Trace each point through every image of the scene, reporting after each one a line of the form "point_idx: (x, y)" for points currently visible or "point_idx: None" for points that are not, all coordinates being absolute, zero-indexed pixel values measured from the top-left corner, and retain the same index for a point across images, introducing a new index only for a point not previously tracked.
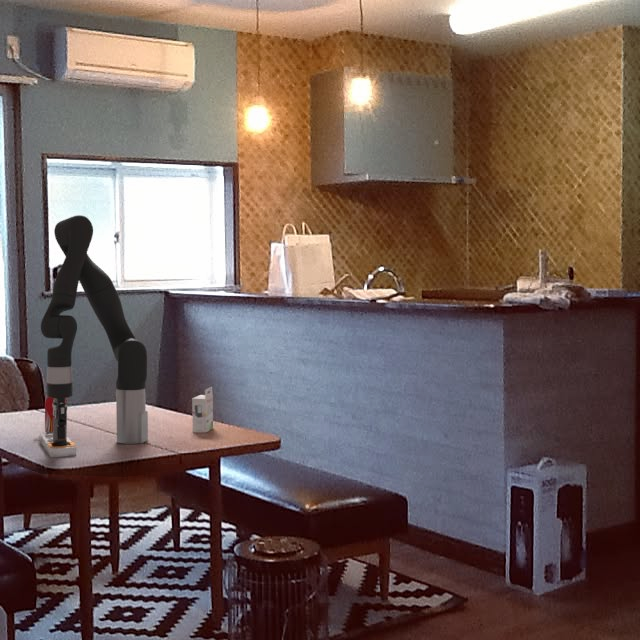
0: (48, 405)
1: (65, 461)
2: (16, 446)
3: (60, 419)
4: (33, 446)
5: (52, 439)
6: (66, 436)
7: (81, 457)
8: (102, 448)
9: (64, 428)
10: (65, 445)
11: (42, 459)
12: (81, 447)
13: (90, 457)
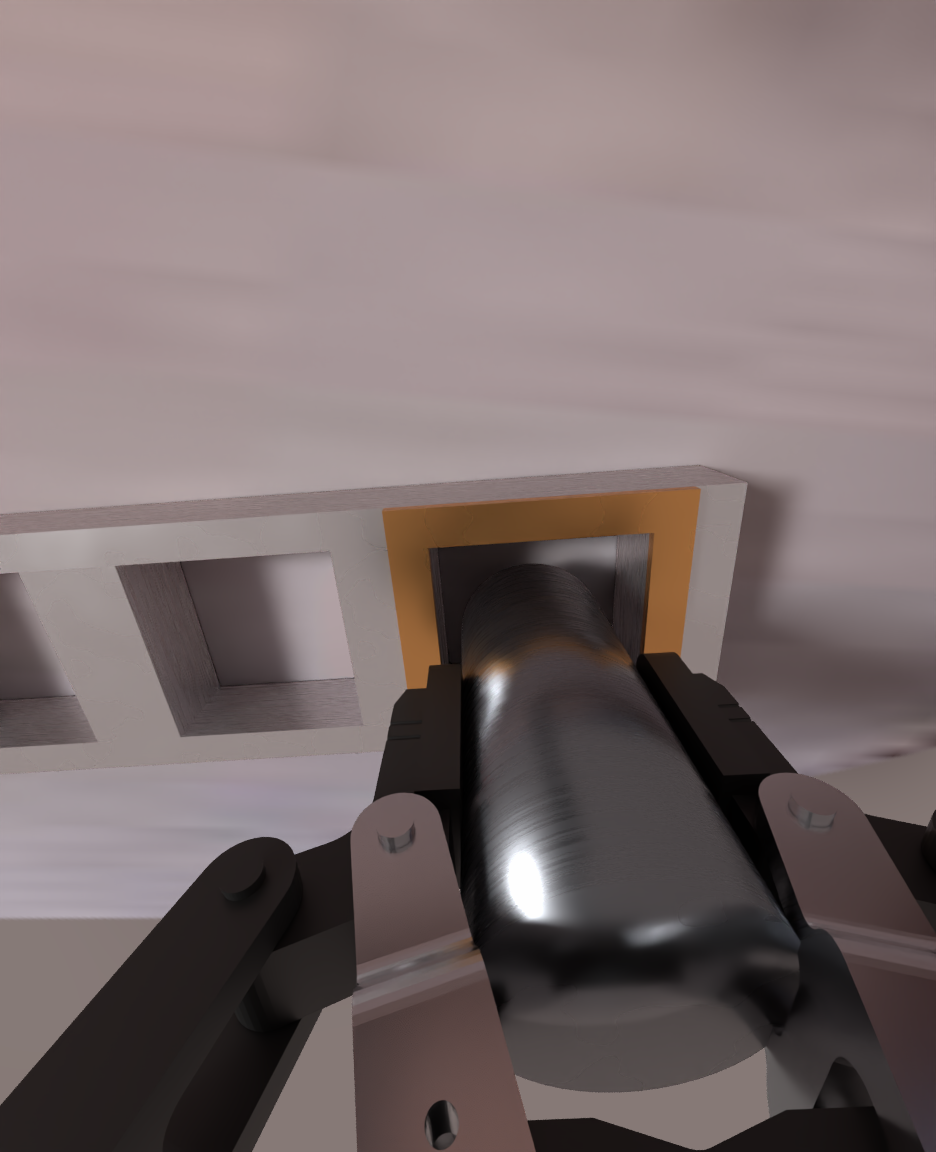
0: None
1: (916, 579)
2: (150, 867)
3: (792, 996)
4: (156, 775)
5: (165, 692)
6: (585, 628)
7: (821, 418)
8: (362, 61)
9: (750, 753)
10: (586, 592)
11: None
12: (249, 368)
13: (879, 314)
